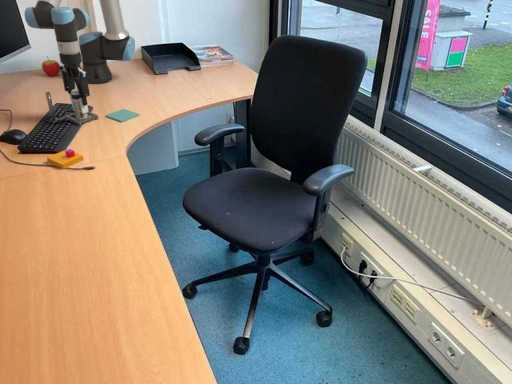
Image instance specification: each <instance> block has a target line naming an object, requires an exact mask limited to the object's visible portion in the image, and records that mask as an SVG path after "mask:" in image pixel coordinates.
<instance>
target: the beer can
mask: <svg viewBox="0 0 512 384" xmlns="http://www.w3.org/2000/svg"><path fill="white" fill-rule="evenodd" d="M71 97H72V102H73V107H74V110H73V111H74V112H73V113H75V117H74V118H75V119H78V120H82V119H85V118H87V117H89V115H88V113H87V112H86V113H82V112H81V107H80V101H79V97H80V95H79V92H78V89H77V88H75V89H74V90H72V91H71ZM72 102H71V103H72ZM73 107H72V108H73Z"/></svg>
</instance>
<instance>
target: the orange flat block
mask: <svg viewBox="0 0 512 384" xmlns="http://www.w3.org/2000/svg"><path fill="white" fill-rule="evenodd" d="M46 160H47V163H49V164H51V165H53V166H55V167H57V168H59V169H63V170H65V169H66V168H69V167H71V166H74V165H76V164H79V163H80V162H83V161H84V156H83V155H82V154H81V153H78V152H75V150H73V149H71V148H69V149H64V150H62V151H60V152H57V153H55V154H53V155H49V156H48V157H46Z"/></svg>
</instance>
